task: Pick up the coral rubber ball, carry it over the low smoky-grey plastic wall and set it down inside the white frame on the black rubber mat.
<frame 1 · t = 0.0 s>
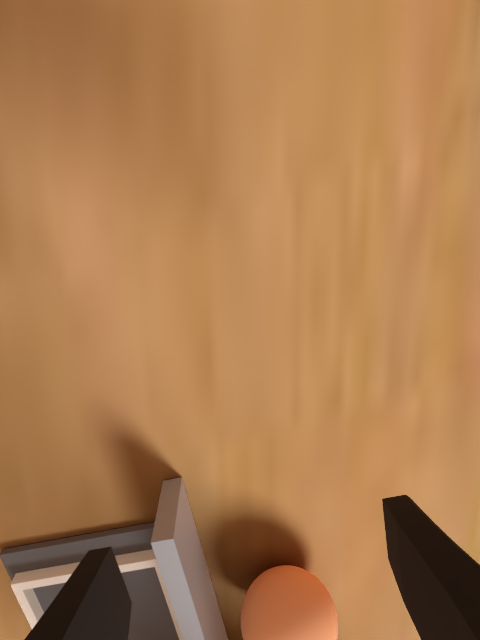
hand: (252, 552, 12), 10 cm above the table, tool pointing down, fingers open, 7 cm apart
coral ball: (288, 620, 23), point 2 cm above the table
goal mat: (112, 607, 26), on the table
grey wall: (205, 591, 26), on the table
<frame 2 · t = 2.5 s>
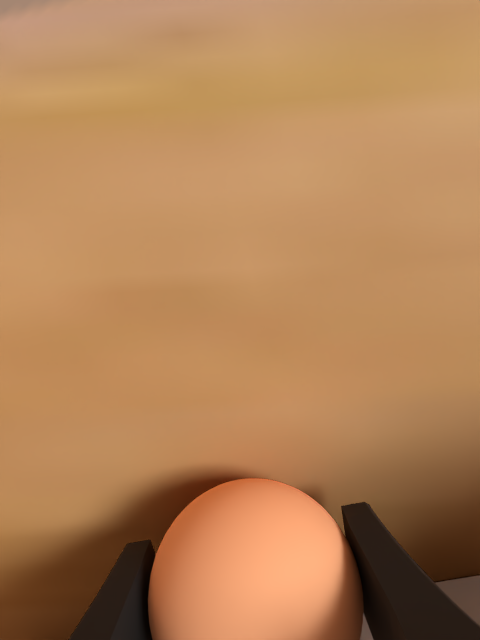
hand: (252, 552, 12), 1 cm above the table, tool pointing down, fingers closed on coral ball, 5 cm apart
coral ball: (254, 589, 11), point 2 cm above the table, touching gripper
grey wall: (274, 621, 14), on the table
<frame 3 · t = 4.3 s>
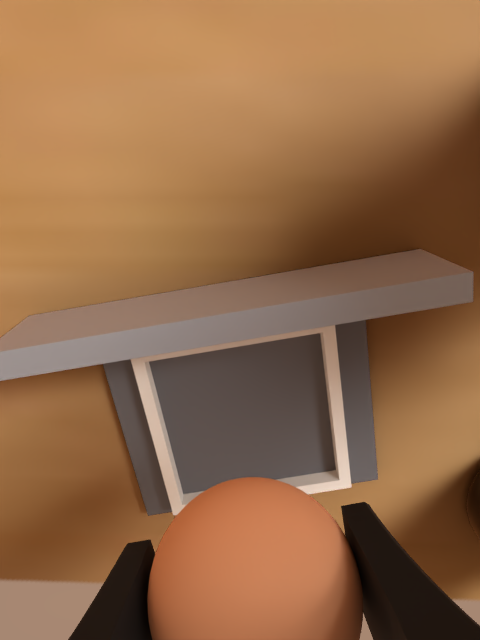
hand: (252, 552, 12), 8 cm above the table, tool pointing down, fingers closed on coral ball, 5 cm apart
coral ball: (254, 588, 11), point 10 cm above the table, touching gripper
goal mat: (246, 411, 20), on the table
grey wall: (224, 294, 18), on the table
when the fingers open (3 cm above the table, at t = 6.3 s): coral ball drops 1 cm, resting on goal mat.
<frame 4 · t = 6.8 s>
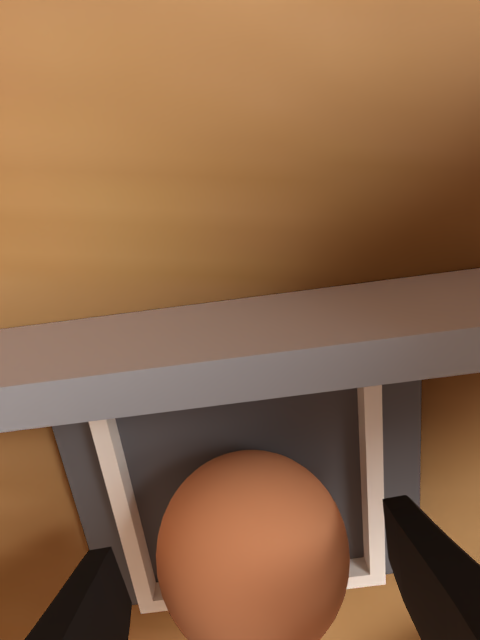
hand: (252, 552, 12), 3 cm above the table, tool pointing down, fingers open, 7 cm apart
coral ball: (252, 548, 12), point 3 cm above the table, touching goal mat
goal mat: (246, 476, 14), on the table
grey wall: (224, 317, 13), on the table
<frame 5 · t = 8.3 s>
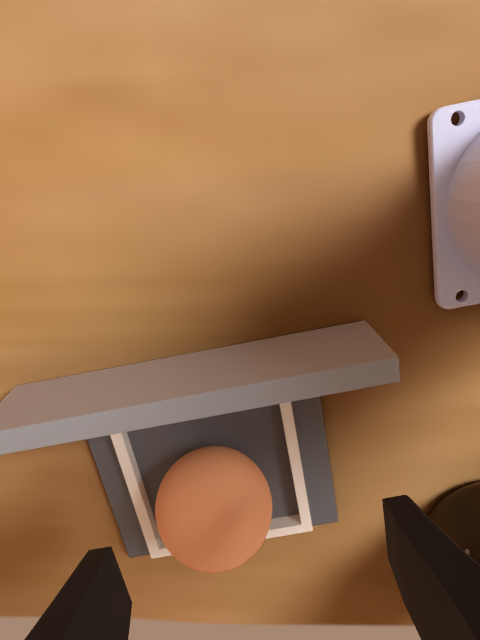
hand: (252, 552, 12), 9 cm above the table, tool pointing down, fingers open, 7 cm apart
coral ball: (214, 506, 19), point 3 cm above the table, touching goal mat
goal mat: (215, 463, 22), on the table
supplement bottle: (478, 524, 24), on the table
grey wall: (190, 363, 20), on the table
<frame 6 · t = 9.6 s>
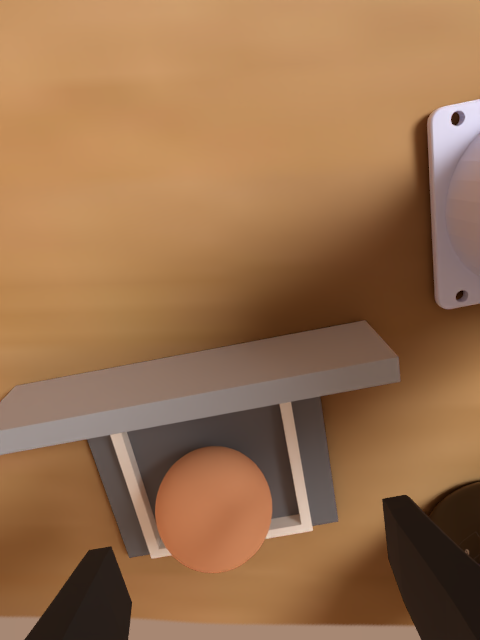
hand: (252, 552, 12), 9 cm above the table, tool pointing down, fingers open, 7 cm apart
coral ball: (214, 506, 19), point 3 cm above the table, touching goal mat
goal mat: (215, 463, 22), on the table
supplement bottle: (478, 524, 24), on the table
grey wall: (190, 363, 20), on the table
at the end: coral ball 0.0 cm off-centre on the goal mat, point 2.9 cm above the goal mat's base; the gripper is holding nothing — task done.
